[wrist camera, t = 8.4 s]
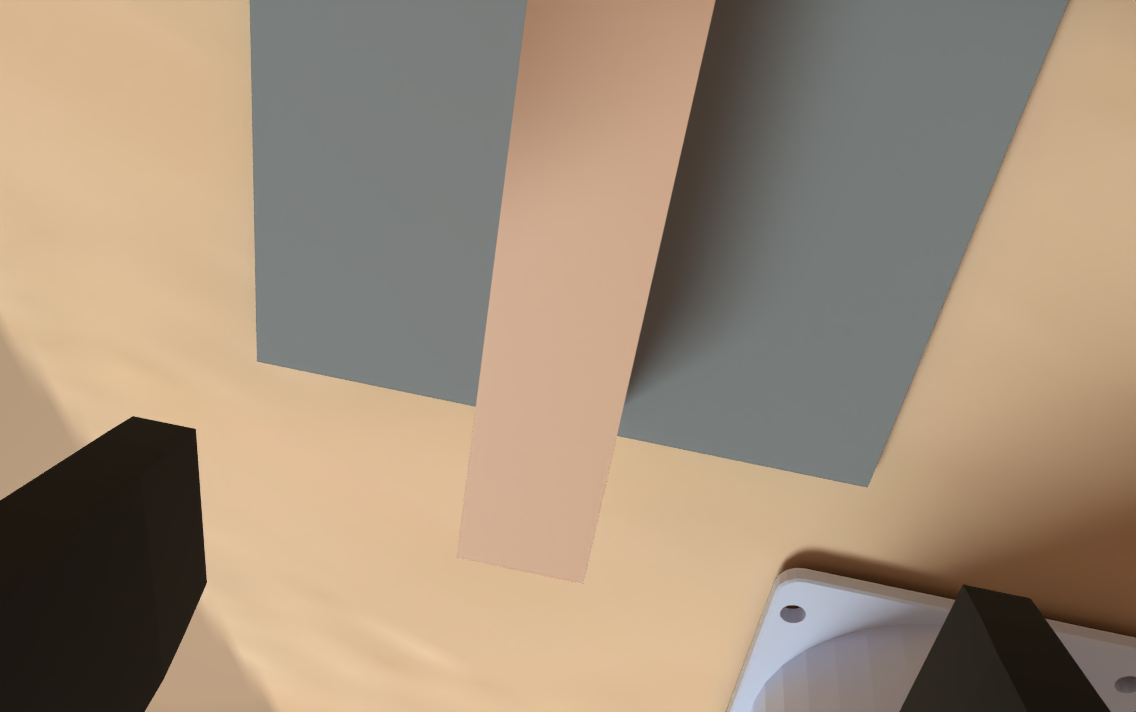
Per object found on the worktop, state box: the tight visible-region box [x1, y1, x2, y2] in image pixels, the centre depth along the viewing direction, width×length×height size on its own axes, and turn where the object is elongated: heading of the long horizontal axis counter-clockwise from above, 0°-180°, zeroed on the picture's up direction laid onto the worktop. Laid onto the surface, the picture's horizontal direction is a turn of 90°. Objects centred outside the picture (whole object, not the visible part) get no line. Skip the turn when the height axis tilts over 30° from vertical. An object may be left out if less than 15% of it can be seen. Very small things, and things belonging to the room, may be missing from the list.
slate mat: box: [250, 0, 1069, 487], centre depth 18 cm, size 10×12×1 cm
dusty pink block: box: [457, 0, 715, 584], centre depth 16 cm, size 9×2×4 cm, turn 171°
